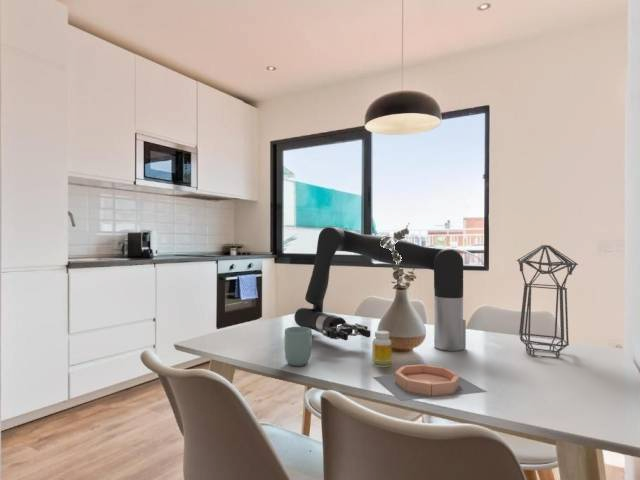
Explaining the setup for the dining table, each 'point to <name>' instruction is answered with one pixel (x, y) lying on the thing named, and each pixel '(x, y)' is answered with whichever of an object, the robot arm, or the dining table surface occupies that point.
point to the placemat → (403, 394)
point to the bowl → (427, 379)
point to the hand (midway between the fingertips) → (358, 335)
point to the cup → (298, 345)
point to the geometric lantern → (561, 288)
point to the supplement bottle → (381, 349)
